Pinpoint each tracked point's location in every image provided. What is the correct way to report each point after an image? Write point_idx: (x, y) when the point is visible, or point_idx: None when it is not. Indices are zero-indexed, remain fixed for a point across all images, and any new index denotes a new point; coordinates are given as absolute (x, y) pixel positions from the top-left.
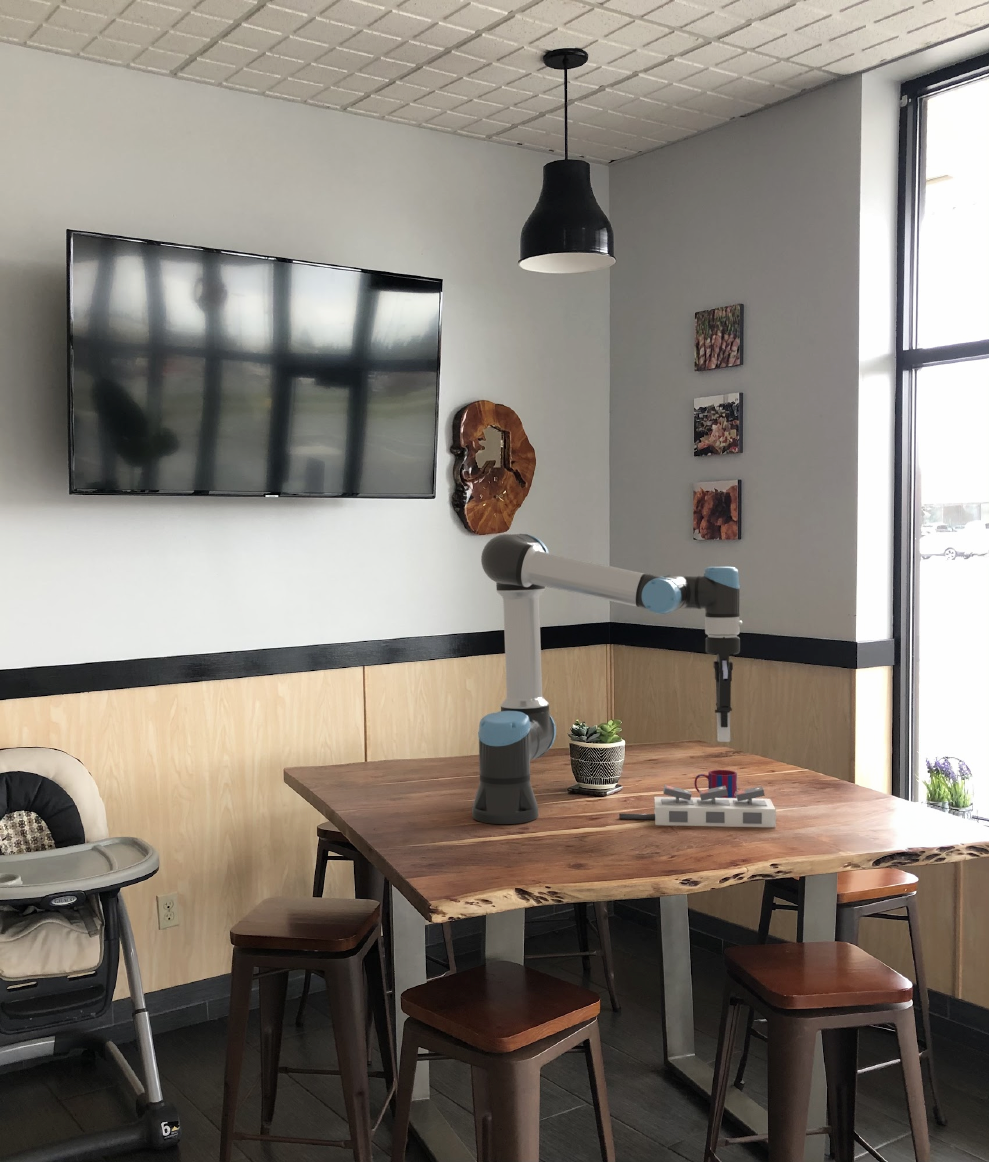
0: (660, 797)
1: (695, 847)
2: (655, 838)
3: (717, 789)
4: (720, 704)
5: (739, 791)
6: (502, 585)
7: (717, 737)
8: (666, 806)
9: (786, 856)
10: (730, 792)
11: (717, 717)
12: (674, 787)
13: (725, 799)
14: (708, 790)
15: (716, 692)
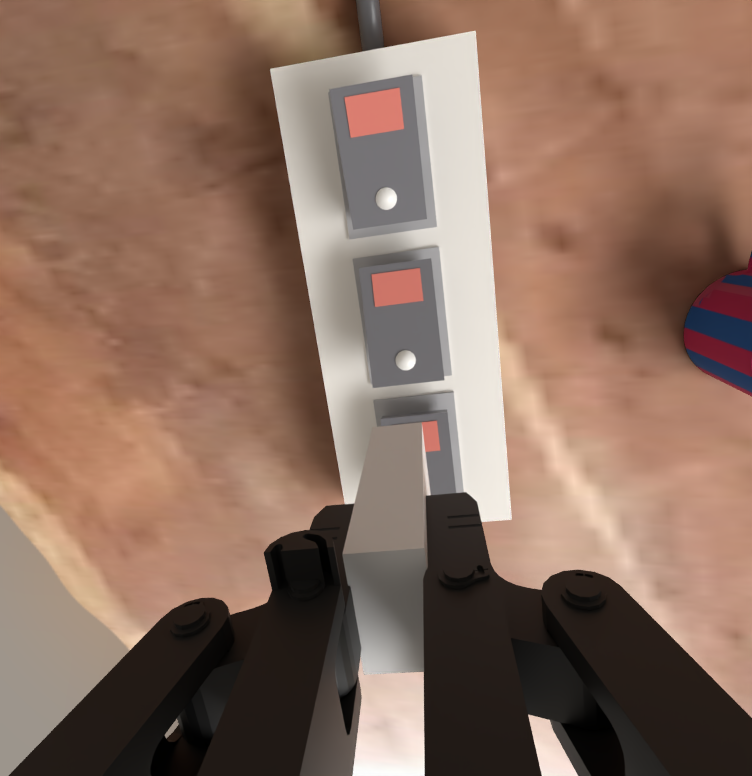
0: (464, 65)
1: (51, 269)
2: (107, 117)
3: (397, 346)
4: (109, 685)
5: (432, 431)
6: None
7: (407, 432)
8: (295, 120)
9: (60, 516)
10: (711, 368)
11: (375, 518)
12: (407, 134)
13: (472, 362)
14: (409, 304)
15: (704, 764)
